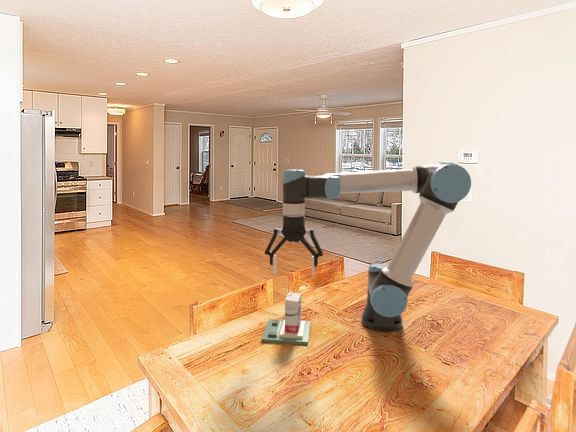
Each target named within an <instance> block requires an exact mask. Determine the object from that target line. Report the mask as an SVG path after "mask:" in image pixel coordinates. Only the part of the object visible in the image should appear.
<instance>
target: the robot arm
mask: <svg viewBox="0 0 576 432" xmlns="http://www.w3.org/2000/svg"><path fill="white" fill-rule="evenodd" d="M471 178H472V177H471V175H470V173H469V172H468V171H467V169H466V168H464V167H463V166H461V165H459V164H458V163H454V162H444V161H443V162H442V161H441V162H435V163H429V164H423V165H413V166H412V168H410V169H409V168H408V169H392V170H390V169H388V170H370V171H355V172H354V171H353V172H336V173H335V172H334V173H333V172H332V173H330V172H329V173H328V172H324V173H321V174H319V175H306V171H305V170H304V169H286V170H284V171H283V175H282V214H283V216H282V228H278V227H275V228H274V229H273V235H272V236H271V239H270V240H269V243H268V245H267V247H266V249H265V251H264V255H265V256H266V255H268V256H269V265H270V266H272V275H273V276H276V274H277V254H276V253H277V252H278V251H279V250H280V248H281V247H282V246H283V245H284V244H285V243H286V242H287V241H288V242H289V243H292V242H294V243H298V242H300V243H301V244H303V246H304V247H305V248H306V249H307V250H308V252H309V253H310V254H311V255H312V256H311V277H315V267H318V265H319V263H318V262H319V261H318V260H319V259H318V258H319V257H323V255H324V251H323V249H322V248H321V245H320V244H319V241H318V240H317V238H316V235H315V229H314V228H310V229H306V223H305V221H306V219H305V218H306V216H305V213H306V212H305V211H306V201H305V200H306V199H329V200H332V199H339V198H340V197H341V194H359V193H361V194H362V193H363V194H364V193H382V192H384V193H386V192H409V191H410V192H412V193H413V194H418V198H419V201H420V203H419V204H418V207H417V209H416V211H415V213H414V214H413V217H412V219H410V220H411V221H410V222H409V225H408V226H407V228H406V230H405V232H404V234H403V236H402V238H401V240H400V242H399V244H398V246H397V248H396V249H395V252H394V254H393V255H392V257H391V259H390V261H389V263H371V264H370V265H369V266H368V271H367V273H368V274H367V293H366V294H367V295H366V296H367V297H366V304H365V307H364V309H363V312H362V314H361V323H362V325H363V326H364V327H365V328H367V329H370V330H373V331H376V332H383V333H392V332H396V331H399V330H401V329H402V327H403V317H402V313H405V311H406V309H407V307H408V301H409V300H408V299H409V298H408V296H409V294H410V292H411V291H412V289H413V287H414V281H413V277H414V275H415V274H416V271H417V269H418V268H419V266H420V264H421V262H422V260H423V258H424V256H425V254H426V252H427V251H428V249H429V248H430V245H431V243H432V241H433V239H434V237H435V236H436V234H437V233H438V231H439V228H440V226H441V225H442V223H443V221H444V219H445V217H446V215H447V214H450V213H453V212H454V211H455V210H456V207H457V205H458V204H459V202H460V201H462V200H463V199H465V198H466V197H467V196H468V195H469V193H470V190H471V188H472V179H471ZM280 234H282V235H283V238H282V239H281V240H280V241H279V242H278V243H277V245H276V246H275V247H274V248H273V249H272V247H273V245H274V242H276V238H277V237H278V236H279V235H280ZM306 234H307V235H308V236H309V237H310V239H311V241H312V243H313V245H314V247H315V248H314V247H313V246H312V245H311V244H310V242H308V240H307V239H306V238H305V235H306ZM271 249H272V251H271ZM315 249H316V250H315Z"/></svg>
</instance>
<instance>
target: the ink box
mask: <svg viewBox="0 0 576 432" xmlns="http://www.w3.org/2000/svg"><path fill="white" fill-rule="evenodd" d="M284 300H285V301H284V320H285V332H292V333H298V330H299V327H300V324H301V321H302V293H301V292H291V291H289V292H288V293H287V295H286V297H285V298H284Z"/></svg>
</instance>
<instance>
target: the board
mask: <svg viewBox="0 0 576 432" xmlns="http://www.w3.org/2000/svg"><path fill="white" fill-rule="evenodd" d="M310 330H311V320H310V321H309V320H301V324H300V327H299V330H298V333H292V332H285V319H277V318H276V319H275V318H268V321H267V322H266V325H265V328H264V331H263V333H262V337H261V340H260V341H261V343H275V344H293V345H306V346H307V345H309V340H310V339H309V337H310V333H311V331H310Z"/></svg>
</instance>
